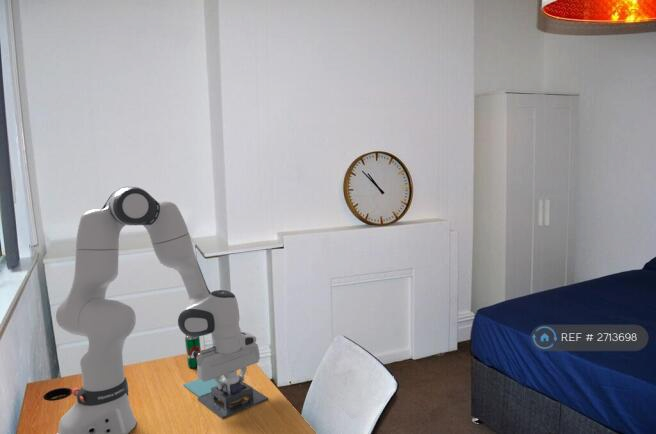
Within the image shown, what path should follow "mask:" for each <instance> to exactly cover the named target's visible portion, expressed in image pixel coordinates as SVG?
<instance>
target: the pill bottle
mask: <svg viewBox="0 0 656 434" xmlns="http://www.w3.org/2000/svg"><path fill="white" fill-rule="evenodd" d="M237 373H238V370H236V371H233V372H231V373H228V374H225V375H223V376H222V377H223V379H222V382H223V383H224V386H225V388H223V393H224V394H226V395H230V394H233V393H235V392H238V391H240V390H241V389H240V379H239V376H238V375H239V374H237ZM241 400H242V398H241V399H239V400H236V401H234V402H231V403H230V405H231V404H238V403H240V401H241Z"/></svg>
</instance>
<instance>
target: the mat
mask: <svg viewBox="0 0 656 434" xmlns="http://www.w3.org/2000/svg"><path fill="white" fill-rule="evenodd" d="M223 377H224V376H220V380H219V381H220V382H221V381H222V379H223ZM182 385H183V388H186V389H187V390H189V392H191V393H192V394H193V395H195V396H196V397H197V398H200V397H203V396H205V395H208V394H211V388H213V387H215V386H218V385H217V382H216V381H215V380H214V379H211V380H209V381H206V382H204V381H202V380H200V379H199V378H198V379H194V380H192V381H189V382H186V383H183V384H182Z"/></svg>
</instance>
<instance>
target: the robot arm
mask: <svg viewBox="0 0 656 434" xmlns="http://www.w3.org/2000/svg"><path fill="white" fill-rule="evenodd" d="M125 226H143V227H144V228H145V230H146V231H147V233H148V234H149V238H150V241H151V244H152V248H153V252H154V253H155V255H156V257H157V259H158V261H159V262H160V264H162V265H163V266H164V267H167V268H170V269H174V270H175V271H177V272H178V273H179V275H180V277H181V280H182V282H183V285H184V287H185V289H186V292H187V295H188V303H187V305H186V306H185V307H184V308H183V309H182V311H181V313H180V314H179V315H178V318H177V325H178V327H179V330H180V331H181V332H182V333H183V334H184V335H185V336H186V335H187V336H190V337H198V336H199V337H201V336H206V335H209V334H211V340H212V346H211V347H208V348H206V349H201V351H200V353H199V354H198V355H197V364H198V366H197V368H196V369H197V371H196V372H197V373H196V374H197V378H198V379H200V380H202V381H204V382H206V381H209V380H211V379H214V380H215V381H216V382H217V385H218V389H220V390H221V389H223V388H225V386H224V383H223V382H222V381H221V382H220V381H219V380H220V376H221V377H223V376H224V375H225V374H228V373H231V372H233V371H239V370H240V371H239V374H237V375H238V376H239V379H240V382H241V381H243V382H245V375H246V372H247V367H249V366H252V365H255V364H258V363H259V362H260V358H261V356H260V349H259V345H258V344H257V337H256V336H255V335H253V334H252V333H249V332H247V331H242V330H241V328H240V324H239V323H240V319H241V318H240V310H239V309H240V308H239V304H238V300H237V297H236V295H235V294H234V293H233V292H231V291H230V290H224V289H218V290H213V291H210V290H209V287H208V285H207V283H206V280H205V277H204V275H203V271H202V269H201V267H200V264H199V262H198V260H197V256H196V253H195V251H194V246H193V245H194V244H193V242H192V239H191V235H190V233H189V229H188V226H187V224H186V221H185V219H184V217H183V215H182V213H181V211H180V209H179V207H178V205H176V203H174V202H171V201H160V202H159V201H157V199H155V198H154V197H153V196H152V195H151V194H150V193H148V191H146V190H144V189H143V188H141V187H137V186H124V187H121V188H119V189H117V190H115V191H114V192H112V193H111V194H110V196H109V197H108V199H107V200H106V202H105V204H104V205H103V206H102V208H96V209H91V210H88V211H86V212H83V214H82V215H81V216H80V220H79V224H78V228H77V235H76V244H75V245H76V246H75V262H74V263H75V265H74V277H73V280H72V283H71V284H72V285H71V288H70V290H69V293H68V295H67V297H66V298H65V299H64V300H63V301H62V302H61V303H60V304H59V306H58V307H57V310H56V313H55V319H56V323H57V325H58V327H60V328H61V329H63V330H64V331H66V332H67V333H69V334H71V335H74V336H75V335H76V336H81V337H85V338H87V340H88V347H87V348H88V349H87V352H86V353H85V354H84V355H83V356H82V357H81V359H80V362H79V366H80V367H79V368H80V373H81V379H82V386H81V388H78V387H77V386H75V387H73V388H72V389H71V394H72V395H73V396H74V397H76V403H74V404H73V405H72V406H71V408H69V410H67V412H65V414H64V415H63V416H61V418H60V419H59V423H58V424H59V425H58V432H59V433H58V432H57V433H55V434H129V433H130V432H131V431H132V430H133V429H134V428H135V427H136V425H137V418H136V417H135V415H134V412H133V410H132V406H131V404H130V400H129V383H128V380H127V377H126V376H125V369H124V368H125V367H124V360H123V359H124V357H123V356H124V355H123V350H124V346H125V341H126V339H127V338H128V337H129V336H130V335H131V334H132V332H133V331H134V330H135V326H136V322H137V316H136V312H135V310H134V309H133V308H132V306H130V305H128V304H127V303H123V302H121V301H119V300H116V299H115V300H114V299H108V298H106V294H107V290H108V287H109V286H110V284H111V283H112V282H114V281H115V280H116V279H117V277H118V274H119V255H120V254H119V247H120V242H119V239H120V234H121V231H122V230H123V228H124V227H125Z"/></svg>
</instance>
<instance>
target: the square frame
mask: <svg viewBox="0 0 656 434" xmlns="http://www.w3.org/2000/svg"><path fill="white" fill-rule="evenodd" d="M240 389H241V390H240V391H238V392H235V393H233V394H230V395H226V394H224V393H223V389H221V390H220V389H218V386H215V387H213V388H211V394H208V395H205V396H203V397H200V398H199V397H197V401H198V402H199V403H201V404H202V405H203V406H205V407H206V408H207V409H209V410H210V411H211V412H212V413H214V414H215V415H217V416H218V417H219V418H221V420H223V419H225V418H228V417H230V416H233V415H234V414H237V413H240V412H242V411H244V410H247V409H249V408H251V407H253V406H256V405H258V404H261V403H264V402H267V401H269V398H268V396H266V395H264V394H263V393H262V392H259V391H258V390H257V389H255V388H254V387H252V386H250V385H249V384H247V383H246V382H245V381H241V382H240ZM243 398H247V399H246V400H244V401H242V402H238V403H235V405H232V406H231V404H230V403H231V402H234V401H236V400H239V399H241V400H242V399H243ZM218 400H220V402H222V403H223V404H224V405H223V404H221V403H220V402H219V401H218Z"/></svg>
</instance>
